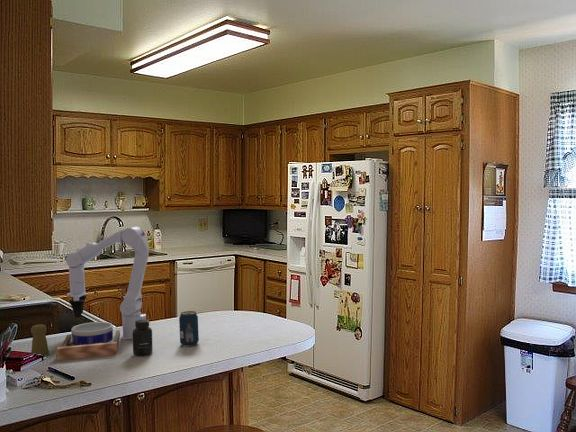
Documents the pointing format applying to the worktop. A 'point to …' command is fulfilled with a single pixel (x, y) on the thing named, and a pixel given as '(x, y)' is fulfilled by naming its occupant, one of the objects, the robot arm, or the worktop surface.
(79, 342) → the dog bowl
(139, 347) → the supplement bottle
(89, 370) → the worktop surface
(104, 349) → the wooden tray
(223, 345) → the worktop surface
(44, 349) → the cork
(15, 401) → the worktop surface
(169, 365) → the worktop surface
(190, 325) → the soda can
